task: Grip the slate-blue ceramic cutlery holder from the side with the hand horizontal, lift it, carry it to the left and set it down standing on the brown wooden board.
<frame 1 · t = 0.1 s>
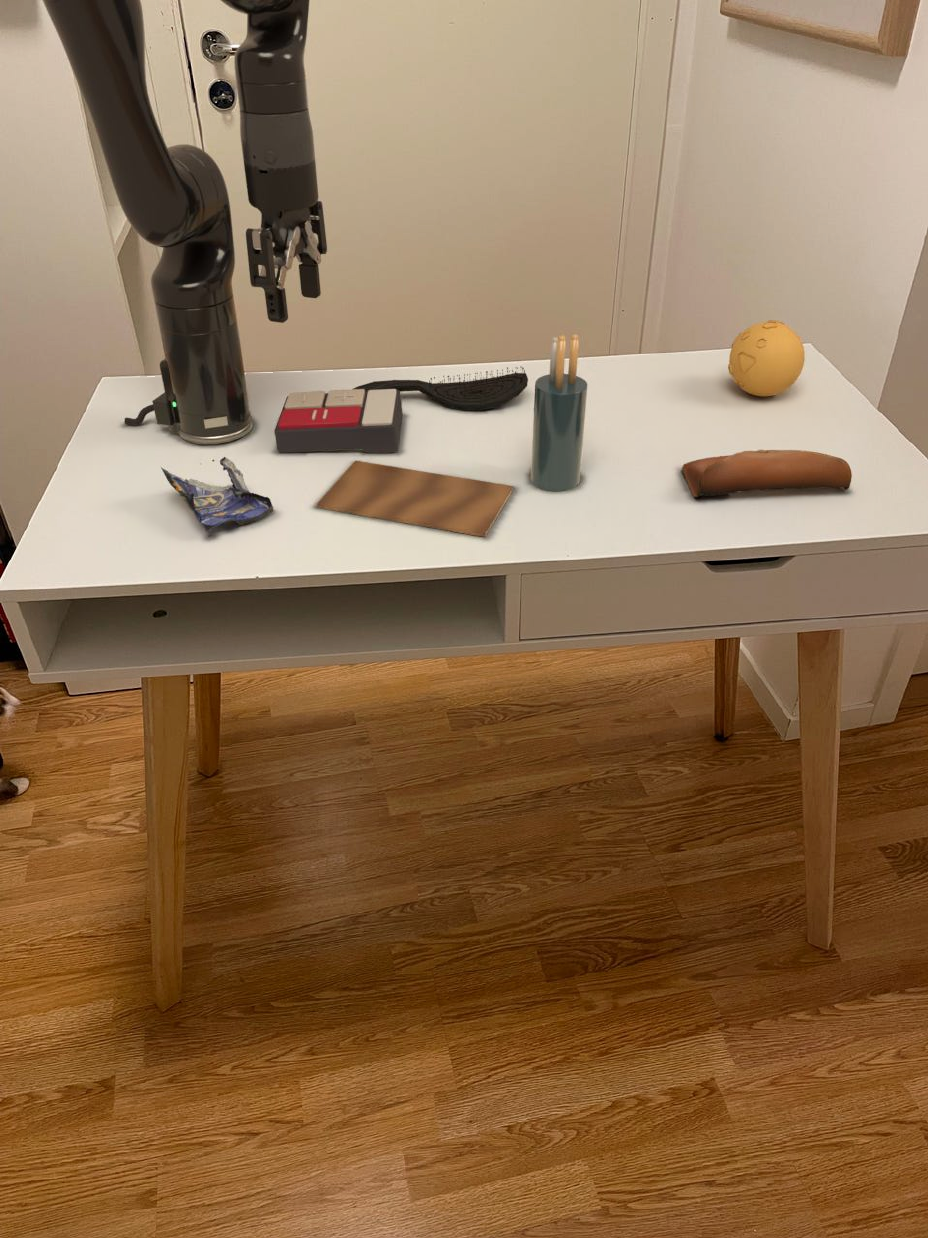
hand: (295, 308, 111), 17 cm above the table, tool pointing down, fingers open, 8 cm apart
snack package: (221, 511, 109), on the table
hairbrush: (436, 400, 133), on the table
sunglasses case: (760, 483, 114), on the table
calculator: (341, 435, 124), on the table
brown wooden board: (416, 498, 111), on the table
stress ball: (759, 394, 134), on the table
cutlery holder: (555, 479, 114), on the table
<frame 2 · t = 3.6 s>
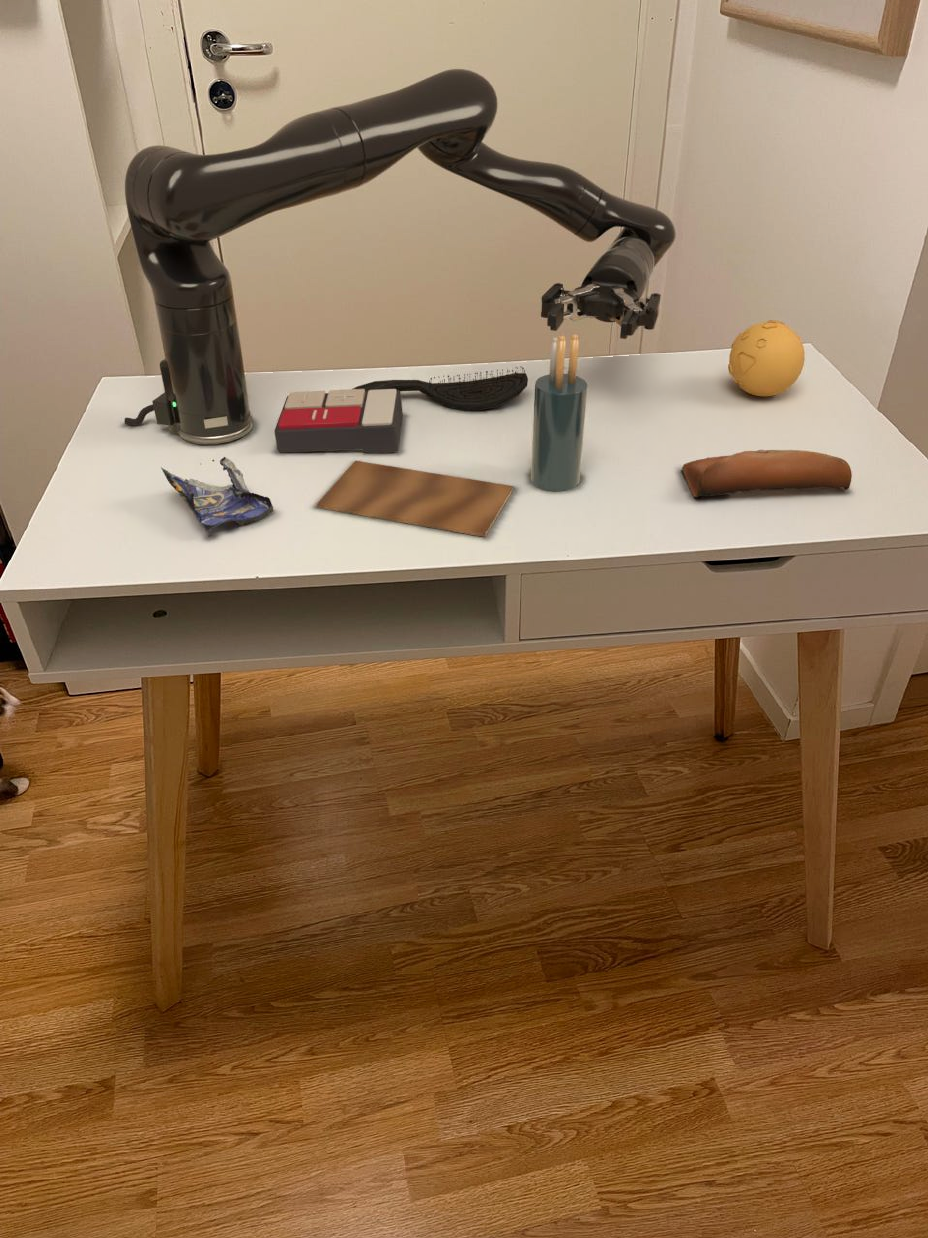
hand: (587, 326, 115), 14 cm above the table, tool horizontal, fingers open, 8 cm apart
nothing on the table moved.
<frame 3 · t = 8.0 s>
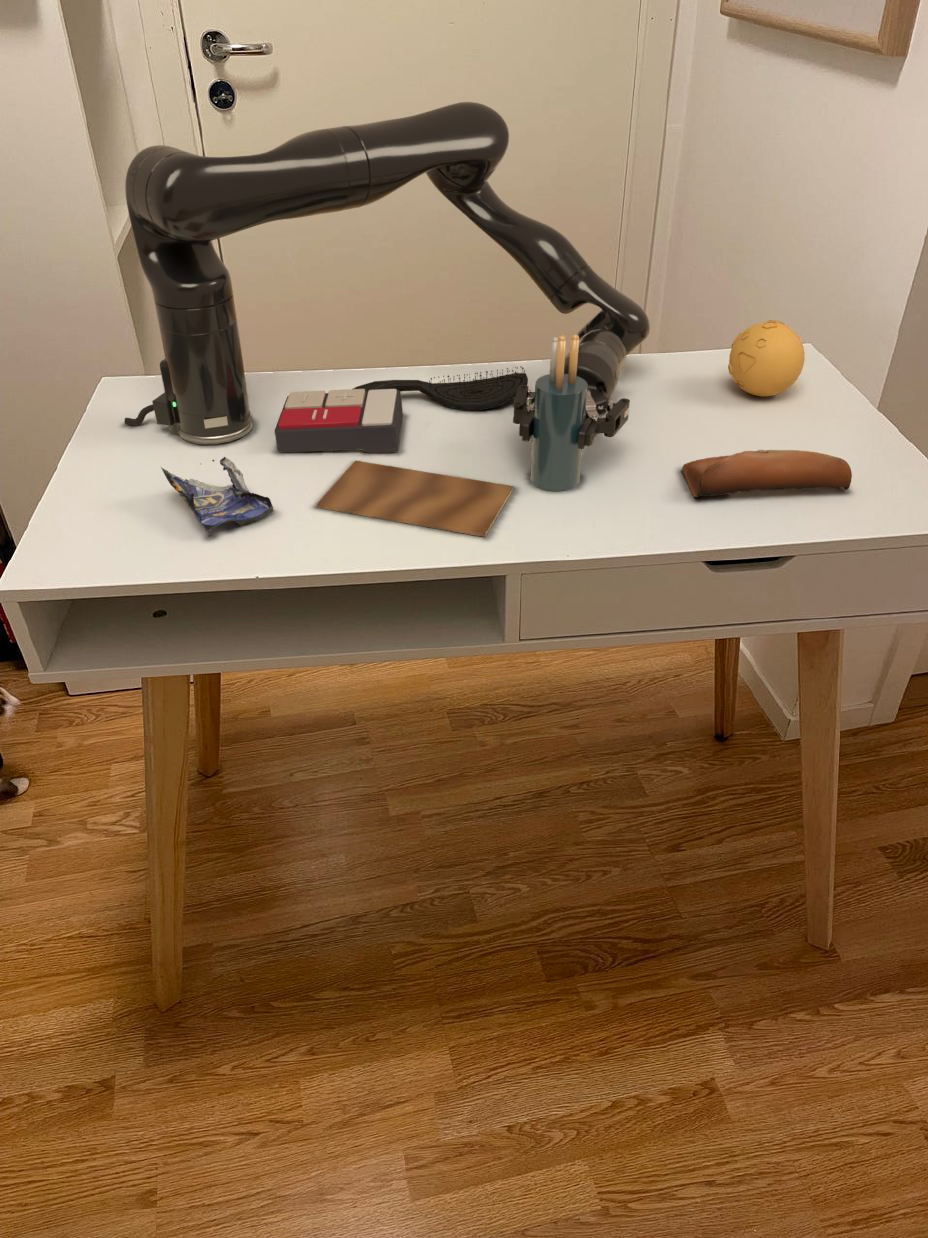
hand: (553, 437, 109), 7 cm above the table, tool horizontal, fingers closed on cutlery holder, 6 cm apart
cutlery holder: (555, 479, 114), on the table, touching gripper
everything else where it was.
when the fingers open (7 cm above the table, at t = 16.6 s): cutlery holder stays where it is, resting on brown wooden board.
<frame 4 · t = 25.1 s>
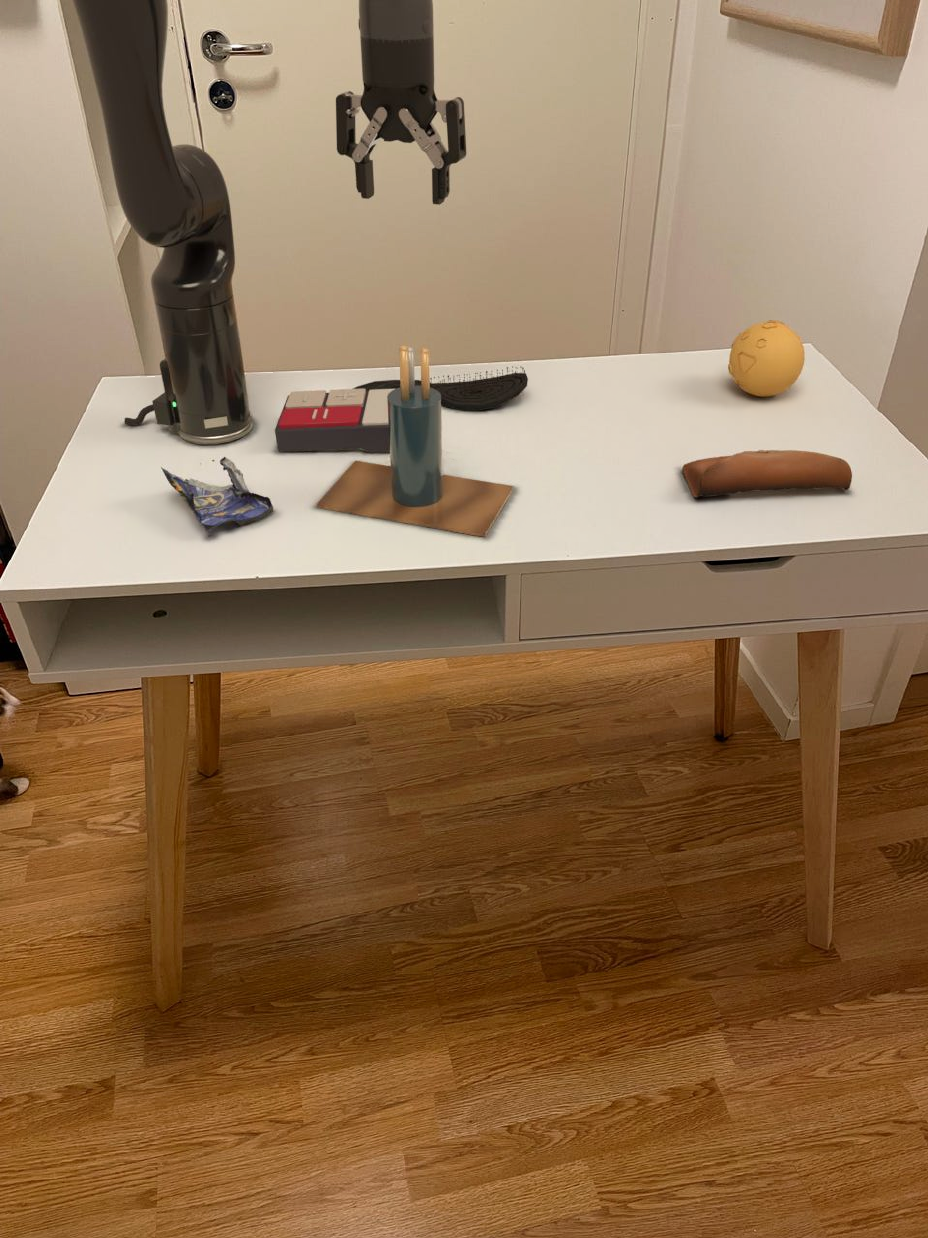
hand: (402, 199, 108), 28 cm above the table, tool pointing down, fingers open, 8 cm apart
cutlery holder: (417, 494, 111), resting on brown wooden board
everything else where it was.
at the end: cutlery holder inside the target area on the brown wooden board (0.1 cm from its centre), point 0.5 cm above the brown wooden board's base; cutlery holder tilted 0°; the gripper is holding nothing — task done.
